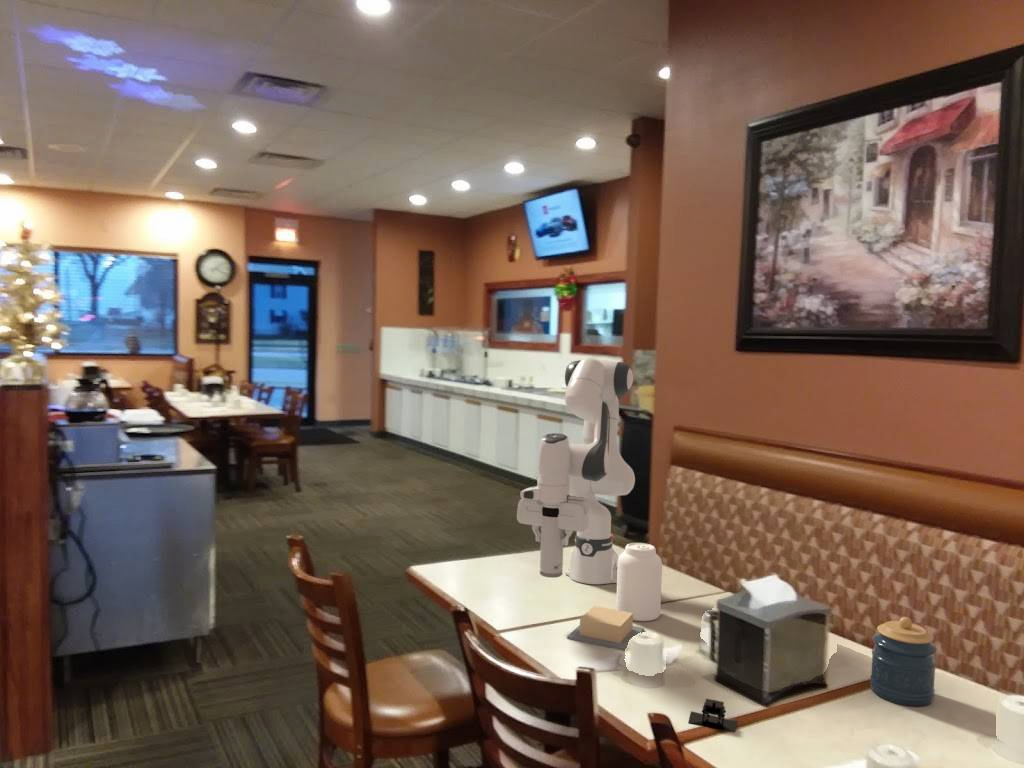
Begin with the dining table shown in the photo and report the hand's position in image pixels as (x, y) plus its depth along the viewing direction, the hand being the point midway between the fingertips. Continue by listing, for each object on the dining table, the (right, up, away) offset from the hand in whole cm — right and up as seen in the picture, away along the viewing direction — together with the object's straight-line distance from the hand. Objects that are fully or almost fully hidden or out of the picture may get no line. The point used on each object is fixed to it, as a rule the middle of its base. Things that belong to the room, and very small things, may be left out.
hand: (551, 543), depth 211 cm
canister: (+77, -27, -38) cm, 90 cm away
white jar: (+25, -22, +8) cm, 35 cm away
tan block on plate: (+14, -23, -7) cm, 28 cm away
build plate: (+30, -27, -53) cm, 67 cm away
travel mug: (0, -9, +1) cm, 9 cm away
